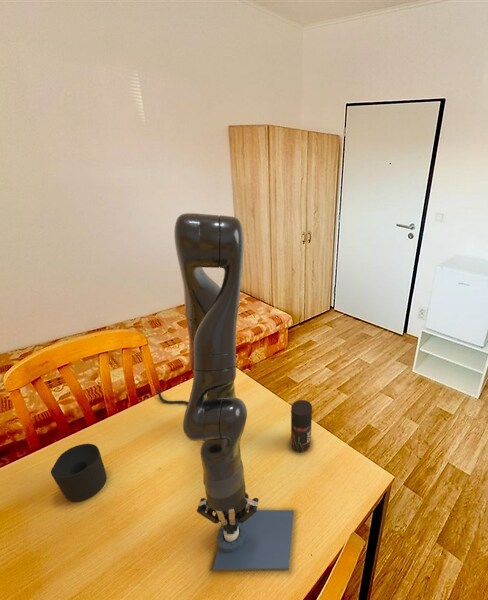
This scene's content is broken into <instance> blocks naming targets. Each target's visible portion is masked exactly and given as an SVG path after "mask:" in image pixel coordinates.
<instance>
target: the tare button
mask: <svg viewBox="0 0 488 600" xmlns="http://www.w3.org/2000/svg"><path fill="white" fill-rule="evenodd" d="M238 535H239V527H238V528H237V531H235V532H234V534H227V531H224V538H225V540H226V541H228V542H232V541H234V540H236V539H237V537H238Z"/></svg>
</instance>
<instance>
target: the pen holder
mask: <svg viewBox="0 0 488 600" xmlns="http://www.w3.org/2000/svg"><path fill="white" fill-rule="evenodd" d="M50 475H51V476H52V478H53V480H54V481H55V483H56V485H57V486H58V488H59V490H60V491H61V493H62V495H63V496H64V498H65V499H66V500H67V501H69V502H72V503H79V502H84V501H86V500H89V499H90V498H92V497H94V496H95V495H97V493H99V492H100V491H101V489H102V488H103V487H104V485H105V484H106V483H107V478H108V477H107V472H106V469H105V465H104V462H103V459H102V456H101V452H100V449H99V447H98V446H97V445H96V444H94V443H81V444H77V445H74V446H73V447H70V448H68V449H66V450H65V451H63V452H62V453H61V454H60V455H59V456H58V458H57V459H56V461H55V463H54V465H53V466H52V468H51V470H50Z"/></svg>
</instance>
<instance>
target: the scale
mask: <svg viewBox="0 0 488 600" xmlns="http://www.w3.org/2000/svg"><path fill="white" fill-rule="evenodd" d="M293 523H294V510H292V509H288V510H287V509H286V510H285V509H284V510H283V509H281V510H279V509H278V510H277V509H275V510H273V509H257V512H256V513H254V514H253V515H252V516H251V517H250V518H248V519H247V520H246V521H245V522H243V523H239V524H238V527H239V535H238V537H237V539H236V540H234V541H232V542H228V541H226V540H225V538H224V526H223V525H222V524H221V526H220V528H219V529H218V530H217V531H218V532H217V536H216V540H217V545H218V548H217V551H216V556H215V559H214V563H213V568H212V572H228V571H229V572H233V571H235V572H236V571H237V572H239V571H241V572H242V571H243V572H244V571H289V570H290V563H291V562H290V561H291V552H292V551H291V550H292V547H291V546H292V538H293Z"/></svg>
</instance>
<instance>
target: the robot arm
mask: <svg viewBox="0 0 488 600" xmlns="http://www.w3.org/2000/svg"><path fill="white" fill-rule="evenodd" d="M173 236H174V246H175V251H176V257H177V261H178V266H179V271H180V275H181V280H182V286H183V297H184V298H183V299H184V314H185V315H184V316H185V322H186V327H187V331H188V332H187V333H188V359H189V366H190V369H191V371H192V373H193V379H192V386H191V392H190V395H189V399H188V401H186V400H167V399H164V398H163V397H162V392H161V388H157V389H156V391H157V395H158V399H159V400H160V401H162V402H163V403H166V404H186V405H187V406H186V409H185V412H184V416H183V419H182V429H183V433H184V434H185V435H184V436H186V438H187V439H188V440H190V441H193V442H202V444H201V447H200V453H199V454H200V455H199V456H200V461H201V465H202V477H203V478H202V479H203V480H202V482H203V486H204V491H205V496H206V498H205V497H201V498H200V500H199V502H198V505H197V508H196V513H198V514H199V515H200V516H202V517H204V518H205V519H207V521H208V520H209V522H211V523H213V524H217V525H218V524H219V523H221V526H222V525H223V526H224V531H227V534H234V532H235V531H237V528H238V524H239V523H243V522H245V521H246V520H247V519H248V518H250V517H251V516H252V515H253V514H254V513H256V512H257V510H258V505H259V500H260V499H259V498H258V497H254V498H252V499H250V497H249V494H248V493H247V492H246V491H247V490H246V480H245V471H244V464H243V463H244V462H243V461H242V454H241V440H242V436H243V433H244V430H245V426H246V423H247V418H248V409H247V406H246V403H245V402H244V401H243V400H242V399H240V398H239V397H237V396H236V388H235V387H236V386H235V380H236V377H237V325H238V324H237V323H238V315H239V307H240V306H239V305H240V297H241V288H242V287H241V286H242V277H243V265H244V264H243V263H244V247H245V246H244V245H245V242H244V241H245V240H244V231H243V226H242V222H241V221H240V220H239V218H237V217H235V216H229V215H218V214H208V213H194V212H186V213H182V214H180V215H178V217H177V218H176V220H175V224H174V235H173ZM204 268H205V269H206V268H210V269H223V272H224V273H223V280H222V283H221V286H220V285H219V284H217V282H216V281H214V280H213V279H212V278H211V277H210V276H209V275H208V274H207V273H206V272H205V269H204ZM213 513H215V514H213Z"/></svg>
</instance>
